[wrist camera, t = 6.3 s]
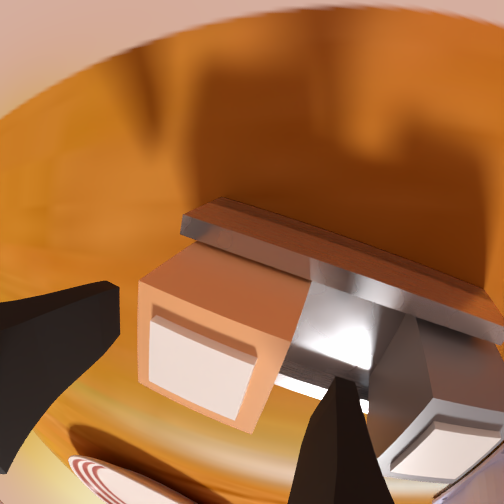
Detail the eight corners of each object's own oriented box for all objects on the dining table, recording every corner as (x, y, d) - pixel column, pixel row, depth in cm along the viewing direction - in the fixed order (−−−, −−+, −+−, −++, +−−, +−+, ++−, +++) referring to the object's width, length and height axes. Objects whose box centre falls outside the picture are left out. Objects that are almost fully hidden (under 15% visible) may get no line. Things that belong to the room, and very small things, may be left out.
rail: (417, 394, 13) (422, 441, 10) (198, 319, 15) (166, 356, 13) (484, 289, 10) (510, 329, 8) (221, 196, 13) (182, 214, 10)
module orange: (287, 344, 13) (248, 441, 8) (202, 310, 14) (133, 387, 9) (318, 260, 11) (288, 350, 6) (217, 227, 12) (131, 285, 7)
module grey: (440, 396, 11) (452, 490, 7) (369, 377, 12) (361, 479, 7) (487, 329, 10) (528, 422, 5) (411, 303, 11) (434, 406, 6)
